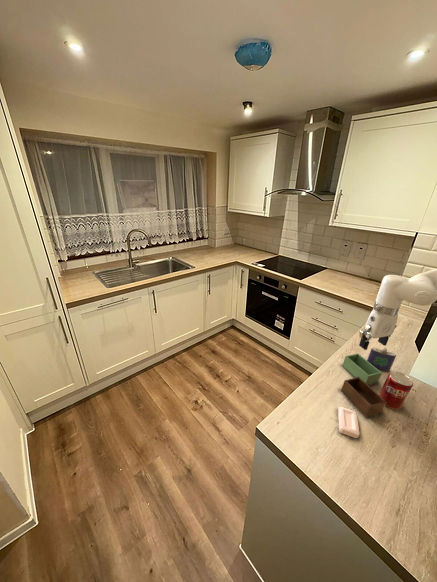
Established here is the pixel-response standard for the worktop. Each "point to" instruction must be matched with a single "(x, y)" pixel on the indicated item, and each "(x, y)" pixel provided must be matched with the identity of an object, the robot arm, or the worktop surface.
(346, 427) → the soap bar
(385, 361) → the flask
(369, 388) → the walnut basket
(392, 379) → the soda can
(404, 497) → the worktop surface
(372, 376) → the green basket
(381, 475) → the worktop surface
